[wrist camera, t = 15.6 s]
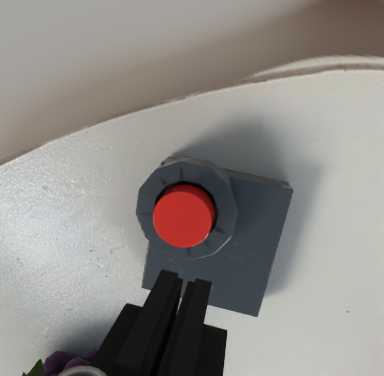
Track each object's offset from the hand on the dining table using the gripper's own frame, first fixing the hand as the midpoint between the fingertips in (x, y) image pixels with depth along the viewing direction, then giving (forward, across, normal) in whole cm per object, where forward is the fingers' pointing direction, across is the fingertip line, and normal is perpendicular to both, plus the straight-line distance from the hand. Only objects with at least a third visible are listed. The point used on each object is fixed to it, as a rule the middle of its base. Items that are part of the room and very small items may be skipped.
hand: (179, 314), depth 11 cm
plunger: (+11, +2, +1) cm, 11 cm away
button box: (+15, 0, +3) cm, 15 cm away
